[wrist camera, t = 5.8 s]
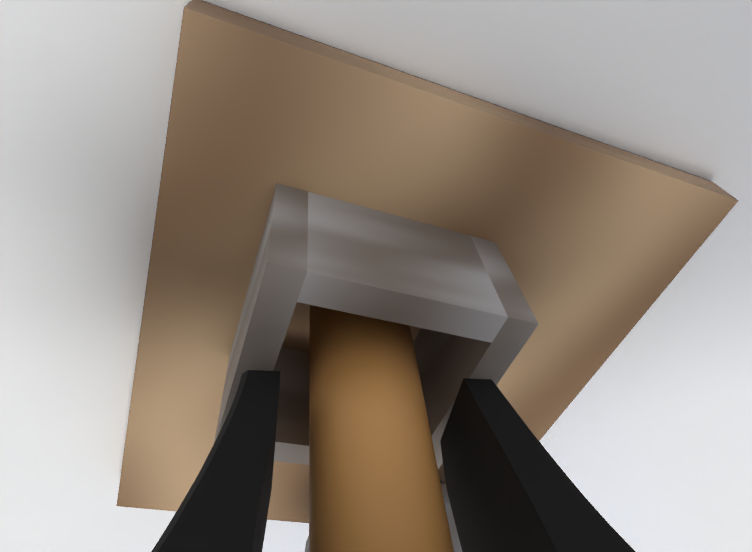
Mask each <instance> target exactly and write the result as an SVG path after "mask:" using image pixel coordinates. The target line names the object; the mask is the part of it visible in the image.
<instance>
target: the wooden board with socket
mask: <svg viewBox="0 0 752 552" xmlns="http://www.w3.org/2000/svg"><path fill="white" fill-rule="evenodd" d="M737 202H738V200H737V199H736V198H734V197H733V196H731V195H730V194H729V193H727V192H726V191H724V190H723V189H722V188H720V187H719V186H717V185H716V184H715V183H713V182H711V181H708V180H705V179H702V178H700V177H697V176H694V175H691V174H688V173H685V172H683V171H680V170H677V169H674V168H671V167H669V166H666V165H663V164H660V163H657V162H655V161H652V160H649V159H646V158H643V157H640V156H638V155H635V154H632V153H629V152H626V151H624V150H621V149H618V148H615V147H612V146H609V145H607V144H604V143H601V142H598V141H595V140H593V139H590V138H587V137H584V136H581V135H578V134H576V133H573V132H570V131H567V130H564V129H562V128H559V127H556V126H553V125H550V124H548V123H545V122H542V121H539V120H536V119H533V118H531V117H528V116H525V115H522V114H519V113H517V112H514V111H511V110H508V109H505V108H502V107H500V106H497V105H494V104H491V103H488V102H486V101H483V100H480V99H477V98H474V97H471V96H469V95H466V94H463V93H460V92H457V91H455V90H452V89H449V88H446V87H443V86H441V85H438V84H435V83H432V82H429V81H426V80H424V79H421V78H418V77H415V76H412V75H410V74H407V73H404V72H401V71H398V70H395V69H393V68H390V67H387V66H384V65H381V64H379V63H376V62H373V61H370V60H367V59H365V58H362V57H359V56H356V55H353V54H350V53H348V52H345V51H342V50H339V49H336V48H334V47H331V46H328V45H325V44H322V43H319V42H317V41H314V40H311V39H308V38H305V37H303V36H300V35H297V34H294V33H291V32H288V31H286V30H283V29H280V28H277V27H274V26H272V25H269V24H266V23H263V22H260V21H258V20H255V19H252V18H249V17H246V16H243V15H241V14H238V13H235V12H232V11H229V10H227V9H224V8H221V7H218V6H215V5H212V4H210V3H207V2H204V1H201V0H192V1H191V2H189V3H188V4H187V5H186V6H185V7H184V11H183V19H182V26H181V33H180V41H179V48H178V56H177V63H176V70H175V78H174V85H173V93H172V100H171V107H170V115H169V122H168V130H167V137H166V144H165V152H164V159H163V167H162V174H161V181H160V189H159V196H158V204H157V211H156V219H155V226H154V233H153V241H152V248H151V256H150V263H149V270H148V278H147V285H146V293H145V300H144V307H143V315H142V322H141V330H140V337H139V344H138V352H137V359H136V367H135V374H134V381H133V389H132V396H131V404H130V411H129V419H128V426H127V433H126V441H125V448H124V456H123V463H122V470H121V478H120V485H119V493H118V500H117V506H123V507H134V508H145V509H156V510H168V511H177V510H178V508H179V507H180V505H181V503H182V501H183V500H184V498H185V496H186V495H187V493H188V491H189V489H190V488H191V486H192V484H193V483H194V481H195V479H196V477H197V476H198V474H199V472H200V470H201V468H202V466H203V464H204V462H205V460H206V458H207V456H208V454H209V452H210V451H211V449H212V447H213V445H214V443H215V441H216V439H217V437H218V435H219V433H220V431H221V428H222V426H223V424H224V422H225V419H226V417H227V415H228V413H229V410H230V408H231V405H232V403H233V400H234V398H235V395H236V392H237V389H238V386H239V383H240V379H241V375H242V373H244V372H246V371H247V370H264V371H280V386H279V403H278V415H277V428H276V441H275V453H274V466H273V478H272V490H271V497H270V503H269V509H268V516H267V519H268V520H280V521H291V522H302V523H309V368H310V305H313V306H318V307H323V308H328V309H333V310H337V311H342V312H347V313H352V314H356V315H361V316H366V317H371V318H376V319H380V320H385V321H390V322H395V323H399V324H404V325H409V326H410V328H411V334H412V339H413V344H414V349H415V354H416V359H417V364H418V370H419V375H420V380H421V385H422V390H423V395H424V400H425V406H426V411H427V416H428V421H429V426H430V431H431V436H432V442H433V447H434V452H435V457H436V462H437V467H438V472H439V478H440V483H441V488H442V493H443V498H444V503H445V508H446V513H447V519H448V524H449V529H450V534H451V539H452V544H453V549H454V552H462V548H461V544H460V540H459V537H458V533H457V529H456V525H455V521H454V517H453V513H452V509H451V505H450V501H449V497H448V493H447V488H446V481H445V474H444V468H443V460H442V451H441V443H440V440H441V437H442V435H443V432H444V429H445V427H446V424H447V421H448V418H449V416H450V413H451V410H452V408H453V405H454V402H455V400H456V397H457V394H458V392H459V389H460V386H461V383H462V381H463V378H469V379H492V381H493V382H494V383H495V384H496V386H497V387H498V388H499V390H500V391H501V392H502V394H503V395H504V396H505V397H506V399H507V400H508V401H509V403H510V404H511V405H512V407H513V408H514V409H515V411H516V412H517V413H518V415H519V416H520V417H521V419H522V420H523V421H524V423H525V424H526V425H527V426H528V428H529V429H530V430H531V432H532V433H533V434H534V436H535V437H536V438H537V439H538V441H539V440H540V439H541V438H542V437H543V436H544V434H545V433H546V432H547V431H548V430H549V428H550V427H551V426H552V425H553V424H554V422H555V421H556V420H557V419H558V418H559V416H560V415H561V414H562V413H563V411H564V410H565V409H566V408H567V407H568V405H569V404H570V403H571V402H572V401H573V399H574V398H575V397H576V396H577V395H578V393H579V392H580V391H581V390H582V389H583V387H584V386H585V385H586V384H587V383H588V381H589V380H590V379H591V378H592V376H593V375H594V374H595V373H596V372H597V370H598V369H599V368H600V367H601V366H602V364H603V363H604V362H605V361H606V360H607V358H608V357H609V356H610V355H611V354H612V352H613V351H614V350H615V349H616V348H617V346H618V345H619V344H620V343H621V342H622V340H623V339H624V338H625V337H626V335H627V334H628V333H629V332H630V331H631V329H632V328H633V327H634V326H635V325H636V323H637V322H638V321H639V320H640V319H641V317H642V316H643V315H644V314H645V313H646V311H647V310H648V309H649V308H650V307H651V305H652V304H653V303H654V302H655V300H656V299H657V298H658V297H659V296H660V294H661V293H662V292H663V291H664V290H665V288H666V287H667V286H668V285H669V284H670V282H671V281H672V280H673V279H674V278H675V276H676V275H677V274H678V273H679V272H680V270H681V269H682V268H683V267H684V266H685V264H686V263H687V262H688V261H689V259H690V258H691V257H692V256H693V255H694V253H695V252H696V251H697V250H698V249H699V247H700V246H701V245H702V244H703V243H704V241H705V240H706V239H707V238H708V237H709V235H710V234H711V233H712V232H713V231H714V229H715V228H716V227H717V226H718V224H719V223H720V222H721V221H722V220H723V218H724V217H725V216H726V215H727V214H728V212H729V211H730V210H731V209H732V208H733V206H734V205H735V204H736V203H737ZM305 552H309V537H308V539H307V542H306V547H305Z"/></svg>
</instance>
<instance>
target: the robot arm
mask: <svg viewBox="0 0 752 552" xmlns="http://www.w3.org/2000/svg"><path fill="white" fill-rule="evenodd" d="M279 386H280V371H264V370H247V371H246V372H244V373H242V375H241V379H240V383H239V386H238V389H237V392H236V395H235V398H234V400H233V403H232V405H231V408H230V410H229V413H228V415H227V417H226V419H225V422H224V424H223V426H222V428H221V431H220V433H219V435H218V437H217V439H216V441H215V443H214V445H213V447H212V449H211V451H210V452H209V454H208V456H207V458H206V460H205V462H204V464H203V466H202V468H201V470H200V472H199V474H198V476H197V477H196V479H195V481H194V483H193V484H192V486H191V488H190V489H189V491H188V493H187V495H186V496H185V498H184V500H183V501H182V503H181V505H180V507H179V508H178V510H177V512H176V513H175V515H174V517H173V519H172V520H171V522H170V523H169V525H168V527H167V528H166V530H165V531H164V533H163V535H162V536H161V538H160V539H159V541H158V542H157V544H156V546H155V547H154V549H153V550H152V552H262V547H263V541H264V535H265V528H266V522H267V516H268V509H269V503H270V497H271V490H272V478H273V466H274V453H275V441H276V428H277V415H278V403H279ZM440 443H441V451H442V460H443V468H444V474H445V481H446V488H447V493H448V497H449V501H450V505H451V509H452V513H453V517H454V521H455V525H456V529H457V533H458V537H459V540H460V544H461V548H462V552H635V551H634V550H633V549H632V548H631V547H630V546H629V545H628V544H627V543H626V542H625V541H624V539H623V538H622V537H621V536H620V535H619V534H618V533H617V532H616V531H615V530H614V529H613V528H612V527H611V526H610V525H609V524H608V523H607V521H606V520H605V519H604V518H603V517H602V516H601V515H600V514H599V512H598V511H597V510H596V509H595V508H594V507H593V506H592V505H591V503H590V502H589V501H588V500H587V499H586V498H585V497H584V496H583V494H582V493H581V492H580V491H579V490H578V489H577V487H576V486H575V485H574V484H573V483H572V481H571V480H570V479H569V478H568V477H567V475H566V474H565V473H564V472H563V470H562V469H561V468H560V467H559V466H558V464H557V463H556V462H555V461H554V459H553V458H552V457H551V456H550V455H549V453H548V452H547V451H546V450H545V448H544V447H543V446H542V444H541V443H540V442H539V441H538V439H537V438H536V437H535V436H534V434H533V433H532V432H531V430H530V429H529V428H528V426H527V425H526V424H525V423H524V421H523V420H522V419H521V417H520V416H519V415H518V413H517V412H516V411H515V409H514V408H513V407H512V405H511V404H510V403H509V401H508V400H507V399H506V397H505V396H504V395H503V394H502V392H501V391H500V390H499V388H498V387H497V386H496V384H495V383H494V382H493V381H492V379H469V378H463V381H462V383H461V386H460V389H459V392H458V394H457V397H456V400H455V402H454V405H453V408H452V410H451V413H450V416H449V418H448V421H447V424H446V427H445V429H444V432H443V435H442V437H441V440H440Z"/></svg>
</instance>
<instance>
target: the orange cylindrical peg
mask: <svg viewBox="0 0 752 552" xmlns="http://www.w3.org/2000/svg"><path fill="white" fill-rule="evenodd" d="M309 552H454V549H453V544H452V539H451V534H450V529H449V524H448V519H447V513H446V508H445V503H444V498H443V493H442V488H441V483H440V478H439V472H438V467H437V462H436V457H435V452H434V447H433V442H432V436H431V431H430V426H429V421H428V416H427V411H426V406H425V400H424V395H423V390H422V385H421V380H420V375H419V370H418V364H417V359H416V354H415V349H414V344H413V339H412V334H411V328H410V326H409V325H404V324H399V323H395V322H390V321H385V320H380V319H376V318H371V317H366V316H361V315H356V314H352V313H347V312H342V311H337V310H333V309H328V308H323V307H318V306H313V305H310V368H309Z"/></svg>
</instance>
